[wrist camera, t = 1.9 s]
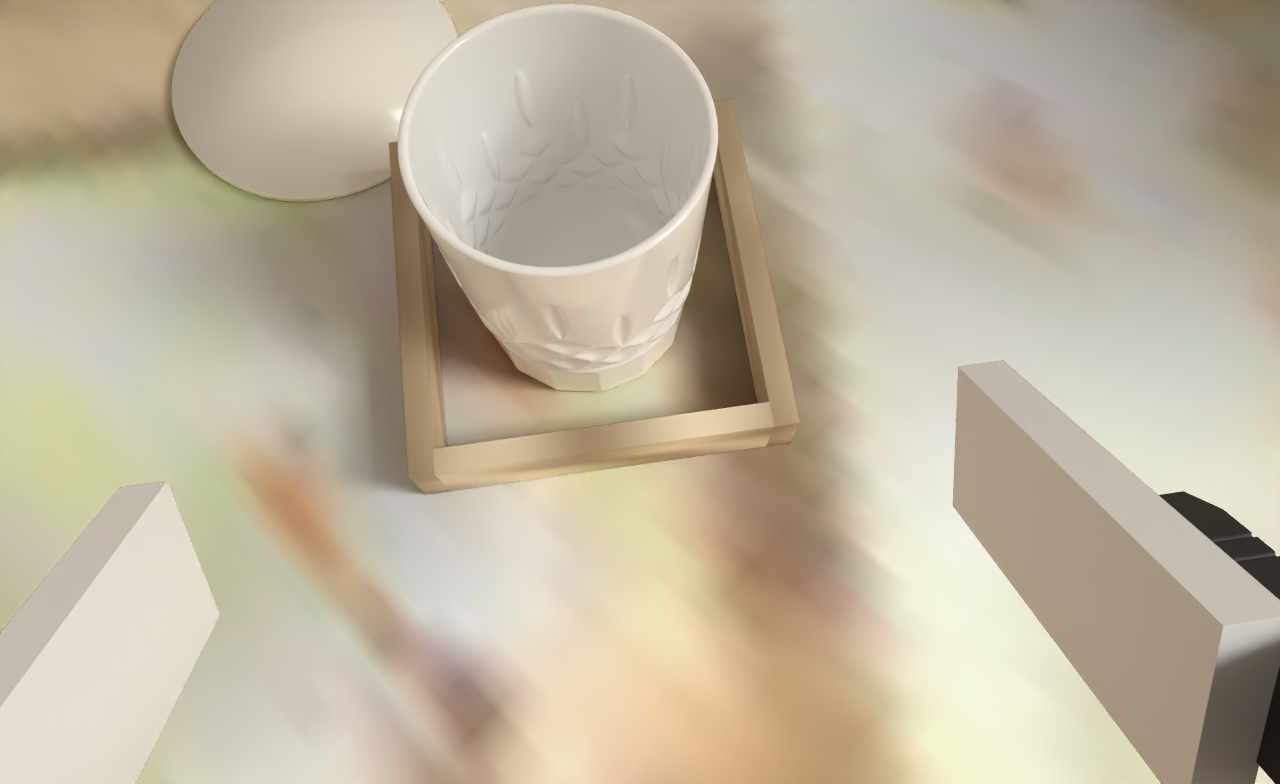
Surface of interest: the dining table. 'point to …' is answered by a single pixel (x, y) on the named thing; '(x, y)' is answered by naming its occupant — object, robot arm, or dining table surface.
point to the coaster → (303, 90)
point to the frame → (605, 443)
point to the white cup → (565, 185)
